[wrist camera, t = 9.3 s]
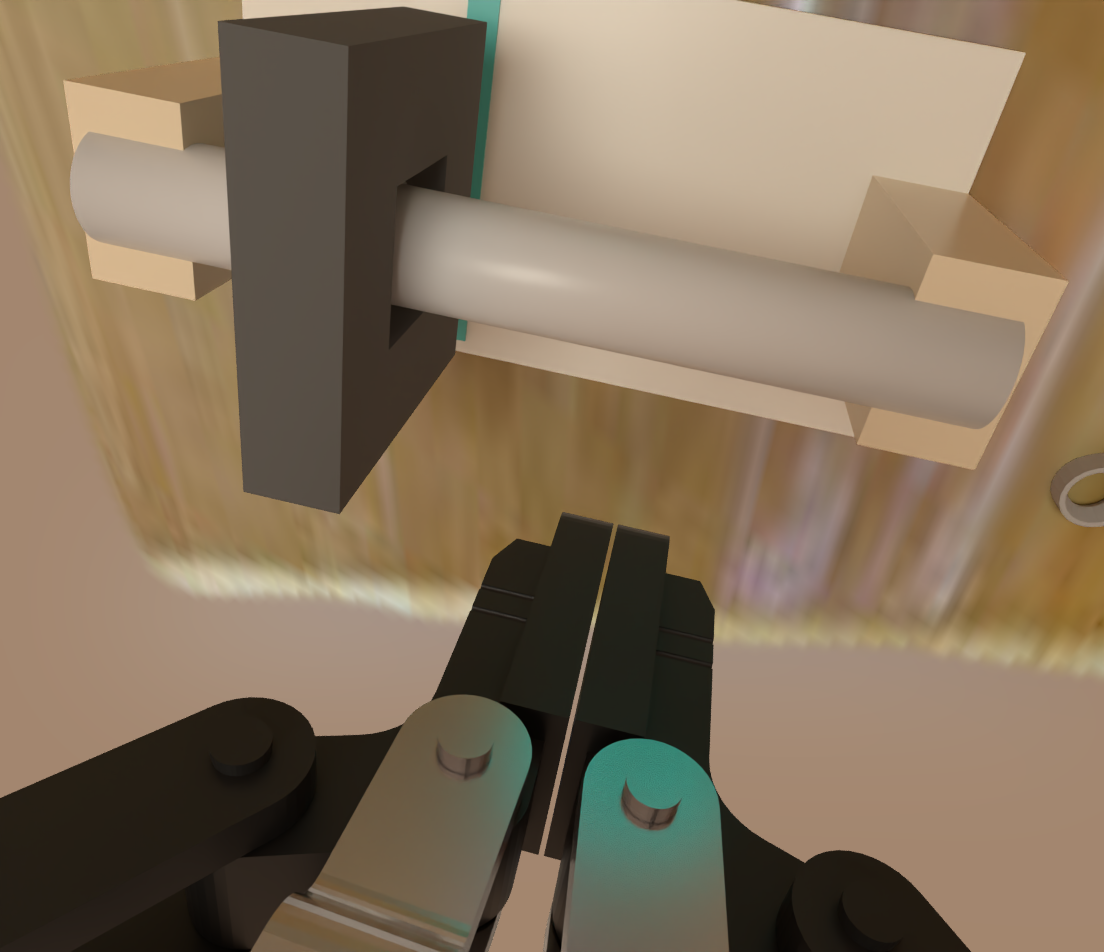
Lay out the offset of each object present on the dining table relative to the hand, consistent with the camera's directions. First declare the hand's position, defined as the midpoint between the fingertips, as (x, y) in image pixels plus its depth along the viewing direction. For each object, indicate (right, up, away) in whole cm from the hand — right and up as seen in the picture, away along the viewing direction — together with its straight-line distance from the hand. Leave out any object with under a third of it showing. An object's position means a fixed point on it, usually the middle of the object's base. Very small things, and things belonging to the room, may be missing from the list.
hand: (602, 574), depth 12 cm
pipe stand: (+1, +12, +18) cm, 21 cm away
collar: (-4, +10, +14) cm, 18 cm away
